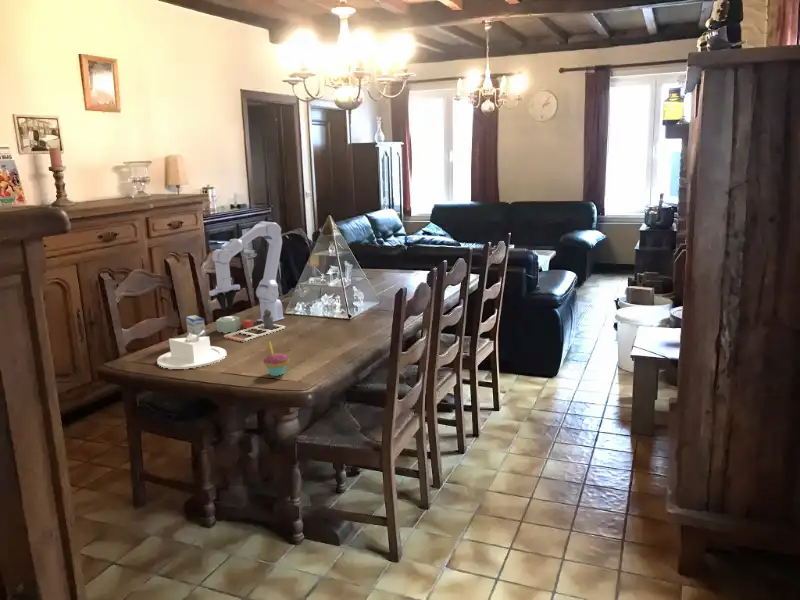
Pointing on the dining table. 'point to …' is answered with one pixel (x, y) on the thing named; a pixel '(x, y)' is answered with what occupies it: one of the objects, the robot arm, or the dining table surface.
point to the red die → (248, 323)
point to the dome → (228, 318)
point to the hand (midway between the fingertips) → (226, 308)
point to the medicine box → (195, 325)
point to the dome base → (228, 325)
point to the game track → (252, 333)
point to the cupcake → (276, 362)
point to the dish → (191, 353)
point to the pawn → (268, 320)
